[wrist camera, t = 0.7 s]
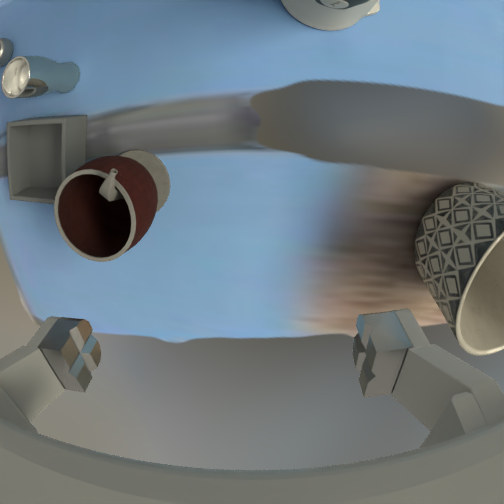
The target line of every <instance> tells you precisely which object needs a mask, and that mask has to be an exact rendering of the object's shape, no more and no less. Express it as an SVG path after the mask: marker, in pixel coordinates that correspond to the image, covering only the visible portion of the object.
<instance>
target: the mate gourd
mask: <svg viewBox="0 0 504 504" xmlns="http://www.w3.org/2000/svg"><path fill="white" fill-rule="evenodd" d="M169 192H170V178H169V174H168V171H167V169H166V167H165V166H164V164H163V163H162V161H161V160H160V159H159V158H158V157H156V156H155V155H153V154H152V153H149V152H147V151H143V150H132V151H128V152H125V153H123V154H121V155H120V156H106V157H101V158H97V159H95V160H92V161H90V162H87V163H86V164H84V165H82V166H81V167H79V168H78V169H77V170H75V171H74V172H73V173H72V174H71V175H70V176H68V177H67V178H66V179H65V180H64V181H63V182H62V184H61V185H60V187H59V189H58V191H57V194H56V197H55V203H54V214H55V220H56V224H57V227H58V230H59V232H60V234H61V236H62V237H63V239H64V240H65V242H66V243H67V244H68V245H69V246H70V247H71V248H72V249H73V250H74V251H75V252H76V253H78V254H79V255H80V256H82V257H84V258H86V259H89V260H93V261H99V262H105V261H111V260H114V259H116V258H118V257H119V256H121V255H122V254H124V253H125V252H126V251H128V250H129V249H131V248H132V247H133V246H135V245H136V244H137V243H138V242H139V241H140V240H141V238H142V237H143V236H144V235H145V234H146V232H147V231H148V229H149V227H150V226H151V224H152V221H153V219H154V216H155V213H156V212H157V211H159V210H160V208H161V207H162V206H163V205H164V204H165V202H166V201H167V198H168V196H169Z"/></svg>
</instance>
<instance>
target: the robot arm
mask: <svg viewBox="0 0 504 504" xmlns="http://www.w3.org/2000/svg"><path fill="white" fill-rule="evenodd" d="M281 1H282V3H283V5H284V6H285V8H286V9H287V11H288V12H289V13H290V14H291V15H292V16H293V17H294V18H296V19H297V20H299V21H300V22H302V23H304V24H306V25H308V26H310V27H313V28H316V29H320V30H328V31H334V30H341V29H345V28H348V27H350V26H352V25H354V24H355V23H357V22H358V21H359V20H360V19H361V18H363V17H365V16H369V15H373V14H376V13H377V12H378V11H379V9H380V6H379V1H380V0H281ZM356 327H357V330H358V334H357V335H356V336H355V337H354V342H353V359H354V364H355V368H356V369H357V370H359V371H360V372H361V373H360V377H359V382H360V386H361V389H362V393H363V396H364V397H372V396H379V395H386V394H392V396H393V397H394V398H395V399H396V400H397V401H398V402H399V403H401V404H402V405H403V406H404V407H405V408H406V409H407V410H408V411H409V412H410V413H411V414H412V415H413V416H415V417H416V418H417V419H418V420H419V421H420V422H421V423H422V424H423V425H424V426H425V427H426V428H427V429H429V430H430V431H431V432H430V434H429V435H428V436H427V438H426V439H425V441H424V442H423V443H422V445H421V446H420V448H419V449H416V450H412V451H408V452H404V453H400V454H395V455H391V456H386V457H381V458H376V459H371V460H366V461H360V462H354V463H347V464H340V465H332V466H324V467H314V468H302V469H286V470H221V469H220V470H219V469H203V468H192V467H182V466H173V465H166V464H158V463H152V462H145V461H140V460H134V459H128V458H124V457H119V456H114V455H110V454H106V453H101V452H97V451H93V450H89V449H86V448H82V447H79V446H75V445H72V444H68V443H65V442H62V441H59V440H56V439H53V438H50V437H47V436H44V435H41V434H38V433H37V430H36V428H35V427H34V426H33V425H32V424H31V423H30V421H31V420H32V419H33V418H35V417H36V416H37V415H38V414H39V413H40V412H41V411H42V410H43V409H45V408H46V407H47V406H48V405H49V404H50V403H51V402H52V401H54V400H55V399H56V398H57V397H58V396H59V395H60V394H62V393H63V392H64V391H65V389H68V390H74V391H79V392H85V391H86V389H87V387H88V385H89V383H90V381H91V379H92V375H91V372H92V371H93V370H94V369H96V368H97V367H98V365H99V363H100V359H101V349H100V345H99V343H98V341H97V339H96V338H94V337H93V336H92V335H91V333H92V330H93V329H92V327H91V325H90V323H89V321H87V320H85V319H75V318H65V317H62V318H61V317H53V316H52V317H49V318H47V319H46V320H45V322H44V323H43V324H42V325H41V327H40V328H39V329H38V331H37V332H36V333H35V335H34V336H33V337H32V339H31V340H30V341H29V343H28V344H27V345H26V346H22V347H20V348H18V349H17V350H15V351H13V352H12V353H10V354H8V355H6V356H5V357H3V358H2V359H0V504H504V394H503V392H502V391H501V389H500V387H499V385H498V383H497V382H496V380H494V379H492V378H491V377H489V376H487V375H486V374H484V373H482V372H481V371H479V370H477V369H476V368H474V367H472V366H471V365H469V364H467V363H465V362H464V361H462V360H461V359H459V358H457V357H455V356H454V355H452V354H450V353H449V352H447V351H445V350H444V349H442V348H440V347H439V346H437V345H435V344H433V345H430V343H429V342H428V340H427V338H426V336H425V335H424V333H423V331H422V329H421V328H420V326H419V324H418V322H417V321H416V319H415V317H414V316H413V314H412V312H411V311H410V310H409V309H400V310H393V311H388V312H379V313H370V314H360V315H359V316H358V318H357V324H356Z"/></svg>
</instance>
